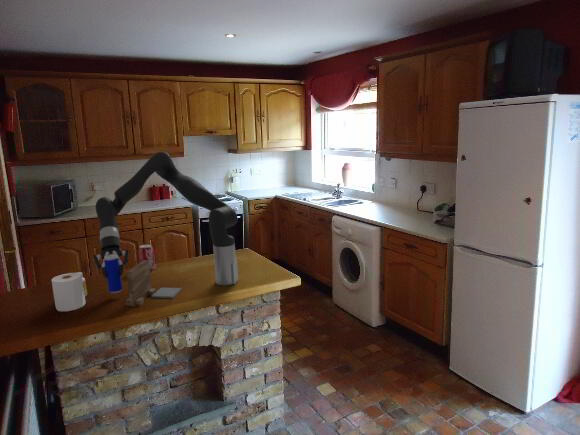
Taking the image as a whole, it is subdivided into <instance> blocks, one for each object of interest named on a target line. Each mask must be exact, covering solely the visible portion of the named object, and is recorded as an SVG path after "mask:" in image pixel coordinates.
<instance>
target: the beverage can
mask: <svg viewBox="0 0 580 435" xmlns="http://www.w3.org/2000/svg"><path fill="white" fill-rule="evenodd" d="M103 260H104V262H105V268H106V274H107V278H106V280H107V286H108V292H110V293H111V294H116V293H120V292H121V291H122V290H123V289H124V287H123V282H122V275H120V270H119V261H118V256H117V255H116V254H110V255H106V256H105V257H104V259H103Z"/></svg>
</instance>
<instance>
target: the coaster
mask: <svg viewBox="0 0 580 435" xmlns="http://www.w3.org/2000/svg"><path fill="white" fill-rule="evenodd" d="M181 291H182V287H160V288H159V289H158V290H156V292H155V293H154V294H153V295H152V296H151V298H153V299H154V298H155V299H174V298H175V297H176V296H177V295H178V294H179V293H180V292H181Z"/></svg>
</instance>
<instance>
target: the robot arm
mask: <svg viewBox="0 0 580 435" xmlns="http://www.w3.org/2000/svg"><path fill="white" fill-rule="evenodd" d="M154 173H156V174H157V176H159V177H160V178H161V179H162V180H165V181H166V182H167V183H169V184H170V185H172V187H173V188H174V189H176V191H177V192H178V193H179V194H180V195H182V197H184V198H185V199H186V200H187V201H188V202H189V203H191V204H193V205H195V206H198V207H200V208H203V209H206V210H207V211H209V215H208V225H209V226H208V227H209V233H210V238H211V241H212V247H213V248H212V249H213V261H214V274H215V284H216V285H219V286H231V285H236V283H237V282H238V281H239V270H238V269H239V268H238V259H237V258H236V246H235V245H236V243H235V241H236V240H235V237H234V236H233V235H229V234H228V232H227V229H228V228H232V227H233V226H235V225H236V224H237V223H238V221H239V219H238V213H237V212H236V211H235V209H234V208H233V207H232V206H230V205H228V204H227V203H226V202H224V201H222V200H221V199H220V198H218V197H217V196H215V195H214V194H213V193H212V192H211V191H209V190H208V189H207V188H206V187H205V186H203V184H202V183H200V182H199V181H198V180H197V179H195V178H194V177H192V176H189V175H186V174H184V173H183V172H182V171H180V170H179V169H178V168H177V167H176V165H175V164H174V161H173V159H172V157H171V156H170V154H169V153H168V152H166V151H158V152H156V153H155V154H153V155H152V156H151V157H150V158H149V159H148V160H147V161H146V162H145V164H144V165H143V166H142V167H140V169H139V170H138V171H137V172H136V173H135V174H134V175H133V176H132V177H130V179H129V180H128V181H126V182H125V183H124V184H122V185H121V186H120V187H119V188H117V189H116V190H115V191H114V193H113V195H114V199H113V200H111V199H110V197H106V196H103V197H100V198H99V199H98V200H97V201H96V202H95V211H96V216H97V220H98V222H99V243H100V253H99V254H93V257H92V258H93V261H94V263H95V266H96V268H97V269H96V270H98V271H99V270H101V272H102V277H104V278H105V279H107V274H106V268H105V262H104V257H105V256H106V255H110V254H116V255H117V256H118V261H119V270H120V275H121V276H123V274H124V273H125V272H124V267H125V266H128V263H129V257H130V253H129V252H130V250H129V249H126V250H122V249H121V240H120V233H119V228H118V221H117V219H116V217H117V216H118V215H119V214H120V213H121V211H122V210H123V209H124V207H125V206H126V205H127V203H128V202H129V201H131V200H133V199H134V198H135V197H136V196H137V195H139V193H140V192H141V190H142V189H143V187H144V186H145V184H146V182H147V180H148V179H149V178H150V177H151V176H152V175H153V174H154ZM122 255H123V257H124V259H123V261H122V260H121V256H122ZM100 259H102V264H100V262H99V261H100Z"/></svg>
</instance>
